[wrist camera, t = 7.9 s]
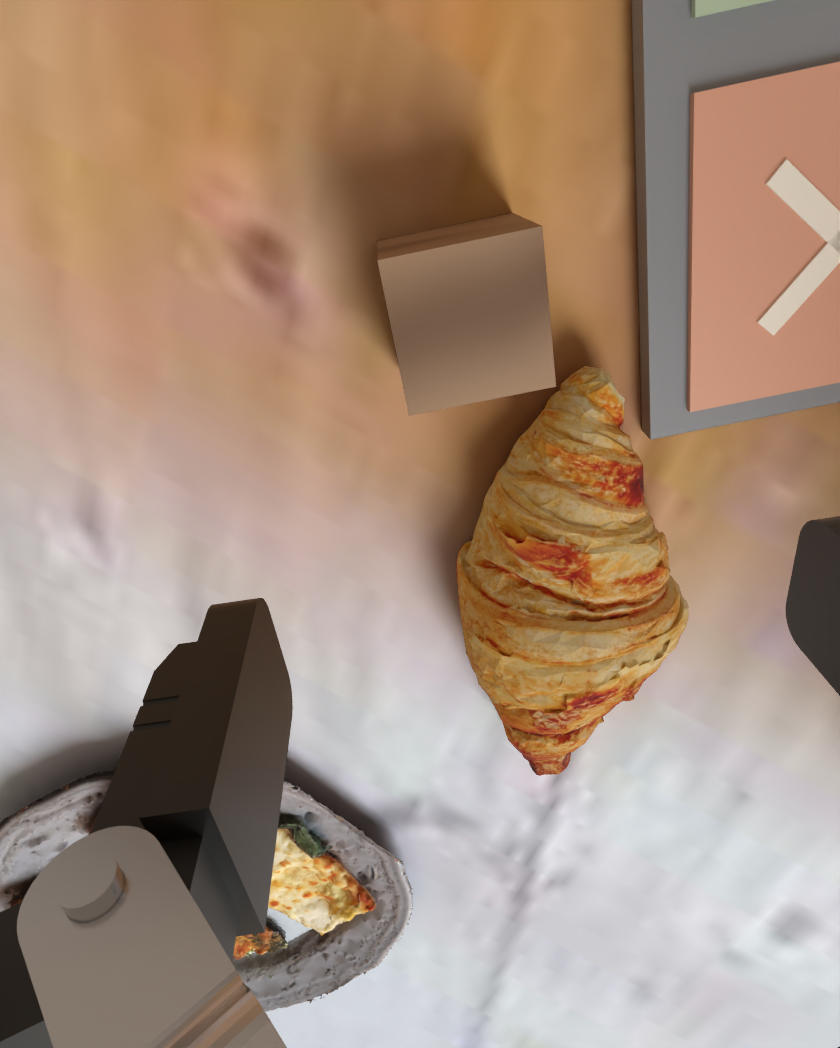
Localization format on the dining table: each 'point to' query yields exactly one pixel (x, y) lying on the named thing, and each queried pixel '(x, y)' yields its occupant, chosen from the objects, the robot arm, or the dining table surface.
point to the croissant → (567, 577)
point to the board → (736, 209)
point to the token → (469, 311)
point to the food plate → (296, 889)
